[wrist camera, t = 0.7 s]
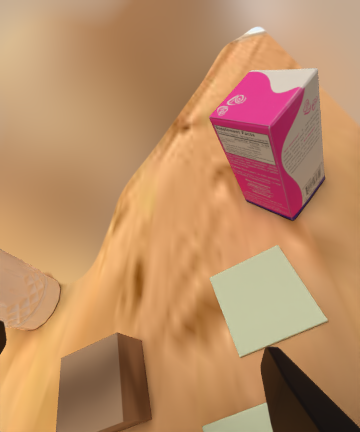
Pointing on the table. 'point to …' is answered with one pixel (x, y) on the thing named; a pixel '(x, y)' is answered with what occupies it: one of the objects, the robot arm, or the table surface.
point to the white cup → (25, 294)
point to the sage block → (243, 421)
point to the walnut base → (103, 387)
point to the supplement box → (274, 138)
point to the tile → (265, 301)
